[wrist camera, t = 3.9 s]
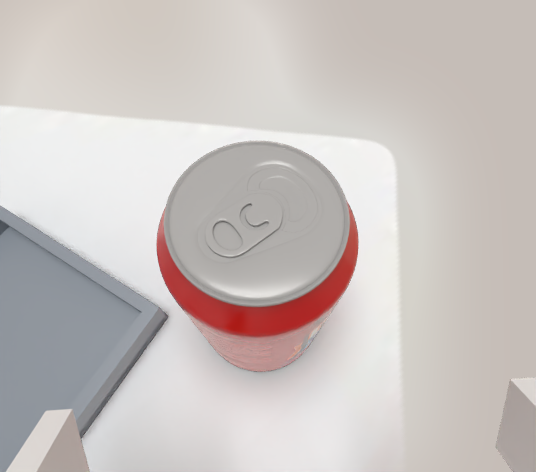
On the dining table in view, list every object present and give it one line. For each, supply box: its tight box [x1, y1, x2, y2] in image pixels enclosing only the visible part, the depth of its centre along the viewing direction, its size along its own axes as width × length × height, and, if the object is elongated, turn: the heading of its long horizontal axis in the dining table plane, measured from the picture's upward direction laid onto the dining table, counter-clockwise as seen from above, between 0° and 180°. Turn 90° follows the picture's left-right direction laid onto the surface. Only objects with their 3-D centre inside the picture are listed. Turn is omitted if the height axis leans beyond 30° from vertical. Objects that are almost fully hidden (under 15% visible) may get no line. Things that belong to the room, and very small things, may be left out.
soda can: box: [157, 141, 358, 371], centre depth 20 cm, size 8×8×15 cm
